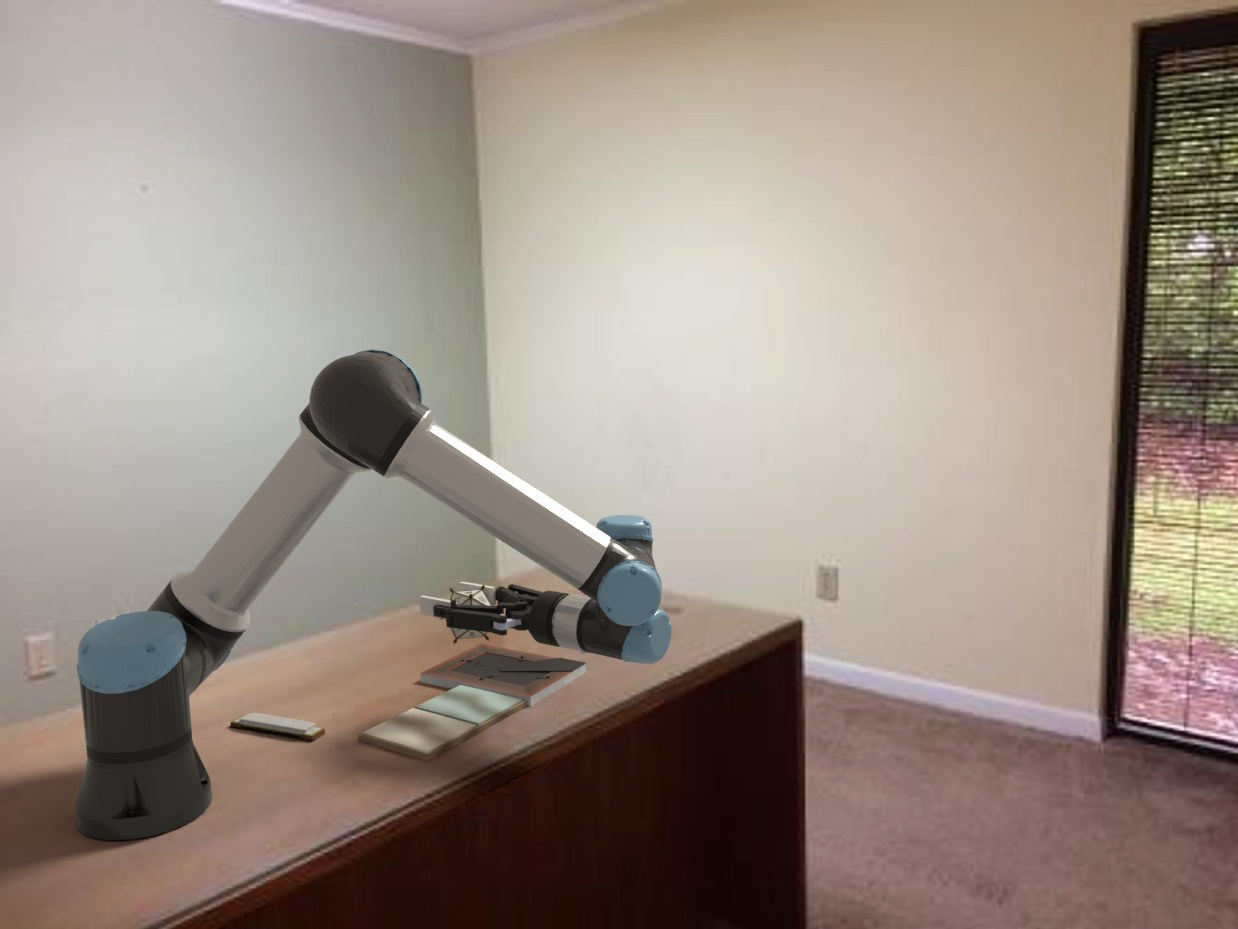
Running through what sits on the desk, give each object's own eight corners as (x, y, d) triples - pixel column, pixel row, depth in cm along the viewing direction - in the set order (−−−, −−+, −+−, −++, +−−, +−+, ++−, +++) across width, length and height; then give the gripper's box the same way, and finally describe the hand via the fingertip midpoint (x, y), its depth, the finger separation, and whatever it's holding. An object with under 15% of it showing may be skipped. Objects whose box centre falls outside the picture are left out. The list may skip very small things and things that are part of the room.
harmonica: (229, 730, 151) (228, 717, 151) (244, 722, 154) (243, 710, 154) (311, 745, 146) (311, 731, 146) (325, 736, 149) (324, 723, 148)
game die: (477, 666, 155) (482, 627, 148) (427, 643, 156) (430, 603, 149) (505, 624, 161) (511, 584, 154) (457, 602, 162) (460, 561, 155)
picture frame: (586, 676, 172) (481, 655, 183) (586, 662, 172) (481, 642, 182) (530, 711, 158) (420, 686, 169) (530, 695, 158) (420, 671, 168)
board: (427, 761, 140) (427, 753, 139) (358, 740, 146) (358, 732, 146) (525, 706, 158) (525, 699, 158) (460, 690, 165) (460, 683, 165)
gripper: (521, 669, 136) (394, 640, 148) (606, 626, 154) (486, 604, 166) (519, 614, 135) (391, 590, 147) (605, 577, 153) (485, 558, 165)
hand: (442, 597), depth 157 cm, fingers closed on game die, 8 cm apart
